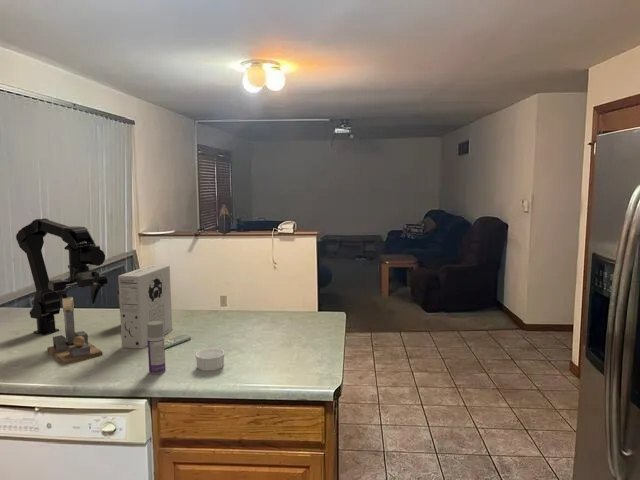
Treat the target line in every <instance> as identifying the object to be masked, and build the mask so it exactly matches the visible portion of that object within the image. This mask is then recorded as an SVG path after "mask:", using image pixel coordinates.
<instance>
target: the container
mask: <svg viewBox="0 0 640 480" xmlns="http://www.w3.org/2000/svg"><path fill="white" fill-rule="evenodd" d="M147 334H148V345H147V353H148V357H147V358H148V373H149V374H150V375H154V374H155V375H161V374H164V373H166V371H167V370H166V349H165V335H164V329H163V322H162V321H151V322H148V323H147Z"/></svg>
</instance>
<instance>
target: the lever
mask: <svg viewBox="0 0 640 480" xmlns="http://www.w3.org/2000/svg"><path fill="white" fill-rule="evenodd" d="M62 301H63V302H62ZM61 302H62V312H63V318H64V319H63V321H64V333H65V335H64V336H65V338H66V346H70V345H74V343H73V340H74V338H75V332H76V331H75V330H76V329H75V316H74V315H75V313H74V312H75V307H74V306H75V305H74V297H73V296H67V297H66V298H62V300H61Z"/></svg>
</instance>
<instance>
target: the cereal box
mask: <svg viewBox="0 0 640 480" xmlns="http://www.w3.org/2000/svg"><path fill="white" fill-rule="evenodd" d="M170 268H171V267H170V265H166V264H150V265H147V266H144V267H141V268H137V269H135V270H132V271H130V272H126V273H122V274H120V275H117V276H118V277H117V278H118V281H117V282H118V290H119V297H118V300H119V299H120V307H119V314H120V315H119V316H120V329H121V330H120V333H121V347H122V348H127V349H140V350H141V349H144V348H145V347H148V334H147V323H148V322H151V321H162V322H163V329H164V336H165V335H167V334H169V333H170V332H171V331H173V316H172V312H173V311H172V293H171V290H172V289H171V269H170Z"/></svg>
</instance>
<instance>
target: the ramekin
mask: <svg viewBox="0 0 640 480" xmlns="http://www.w3.org/2000/svg"><path fill="white" fill-rule="evenodd" d="M225 354H226V353H225V350H224V349H222V348H213V347H212V348H209V347H208V348H204V349H200V350H198V351H196V352H195V360H196V367H197V368H198V370H200V371H204V372H205V371H206V372H213V371H218V370H220V369H221V368H223V367H224V364H225Z"/></svg>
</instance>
